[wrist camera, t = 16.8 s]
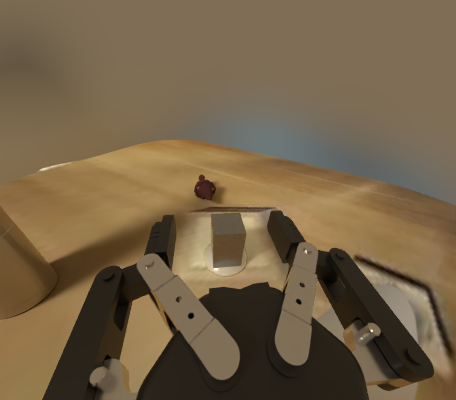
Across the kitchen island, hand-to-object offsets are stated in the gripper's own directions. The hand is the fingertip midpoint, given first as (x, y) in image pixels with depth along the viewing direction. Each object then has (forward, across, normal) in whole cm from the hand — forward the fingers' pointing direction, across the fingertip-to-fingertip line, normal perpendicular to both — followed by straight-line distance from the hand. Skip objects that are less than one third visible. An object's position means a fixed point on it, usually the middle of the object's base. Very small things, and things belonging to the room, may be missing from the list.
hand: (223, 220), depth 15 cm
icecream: (+41, 0, +26) cm, 48 cm away
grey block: (+15, -4, +24) cm, 29 cm away
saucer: (+15, -4, +25) cm, 29 cm away
